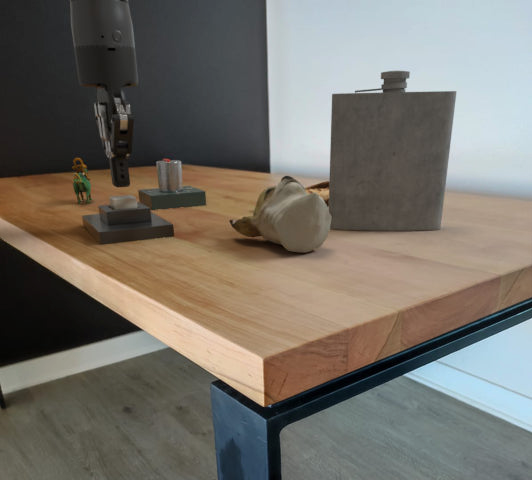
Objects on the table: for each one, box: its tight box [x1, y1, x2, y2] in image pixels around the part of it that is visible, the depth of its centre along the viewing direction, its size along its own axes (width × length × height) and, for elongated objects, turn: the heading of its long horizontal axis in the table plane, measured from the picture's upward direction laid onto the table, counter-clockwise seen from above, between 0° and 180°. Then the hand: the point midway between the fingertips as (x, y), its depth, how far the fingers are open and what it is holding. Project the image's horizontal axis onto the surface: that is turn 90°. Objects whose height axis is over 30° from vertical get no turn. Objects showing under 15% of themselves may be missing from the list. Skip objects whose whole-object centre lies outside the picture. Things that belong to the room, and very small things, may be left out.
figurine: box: [71, 157, 94, 204], centre depth 102 cm, size 3×12×8 cm, turn 7°
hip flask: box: [328, 70, 457, 232], centre depth 74 cm, size 16×4×20 cm, turn 83°
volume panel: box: [137, 185, 207, 211], centre depth 100 cm, size 10×9×3 cm
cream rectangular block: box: [108, 194, 138, 210], centre depth 77 cm, size 3×3×2 cm
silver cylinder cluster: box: [155, 158, 184, 192], centre depth 98 cm, size 4×4×5 cm
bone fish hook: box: [304, 180, 329, 206], centre depth 96 cm, size 9×5×18 cm
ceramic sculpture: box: [228, 175, 331, 254], centre depth 68 cm, size 11×9×15 cm
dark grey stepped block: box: [81, 201, 175, 246], centre depth 78 cm, size 10×14×4 cm
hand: (121, 186), depth 76 cm, fingers closed
